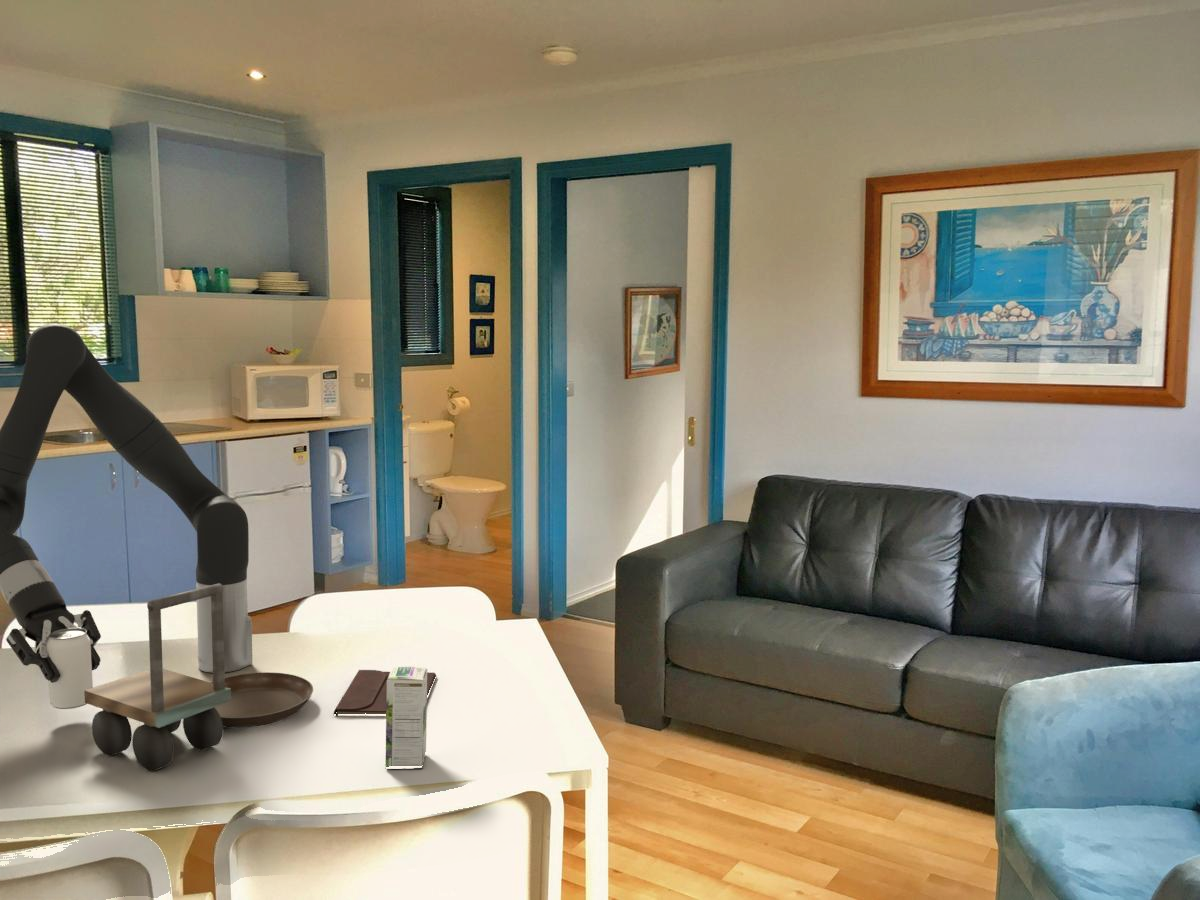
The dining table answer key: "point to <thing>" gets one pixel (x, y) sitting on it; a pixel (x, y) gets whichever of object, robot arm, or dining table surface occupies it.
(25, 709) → the dining table surface
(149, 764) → the trolley
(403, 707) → the syrup box
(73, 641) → the can
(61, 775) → the dining table surface
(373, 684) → the notebook
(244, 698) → the plant saucer
